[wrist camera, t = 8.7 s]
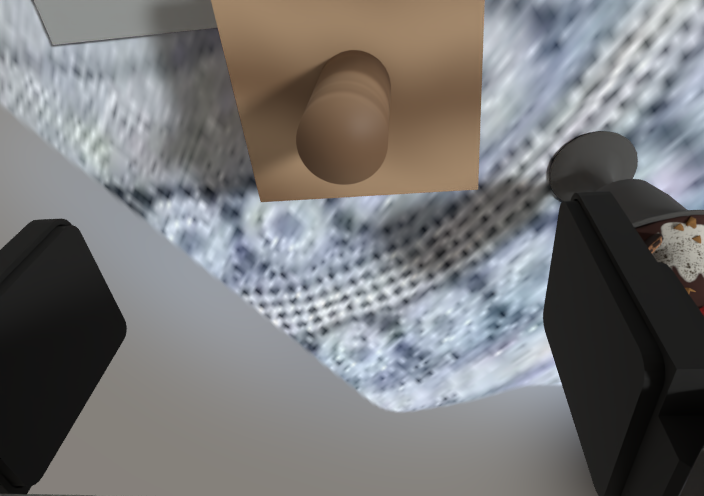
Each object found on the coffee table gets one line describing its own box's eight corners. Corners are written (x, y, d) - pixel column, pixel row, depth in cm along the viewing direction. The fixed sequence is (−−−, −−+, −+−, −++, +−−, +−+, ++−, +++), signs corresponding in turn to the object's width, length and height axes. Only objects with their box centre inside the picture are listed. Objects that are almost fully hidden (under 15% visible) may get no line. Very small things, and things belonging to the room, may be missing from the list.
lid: (209, -42, 21) (137, -15, 15) (483, -76, 19) (517, -60, 14) (264, 192, 27) (229, 274, 21) (475, 179, 26) (496, 263, 20)
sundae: (653, 203, 31) (813, 407, 19) (539, 226, 33) (621, 427, 21) (656, 102, 28) (855, 273, 16) (528, 133, 29) (619, 310, 17)
